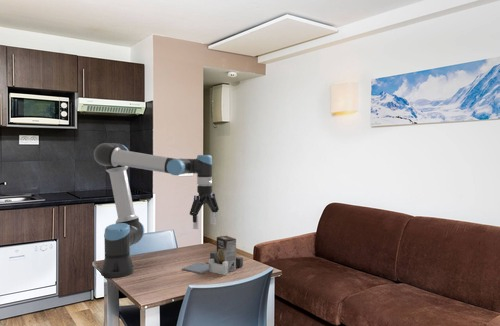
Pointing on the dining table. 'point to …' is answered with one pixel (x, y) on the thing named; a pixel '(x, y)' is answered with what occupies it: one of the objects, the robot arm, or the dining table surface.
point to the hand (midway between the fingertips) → (204, 226)
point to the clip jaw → (218, 267)
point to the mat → (197, 268)
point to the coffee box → (226, 251)
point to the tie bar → (238, 259)
